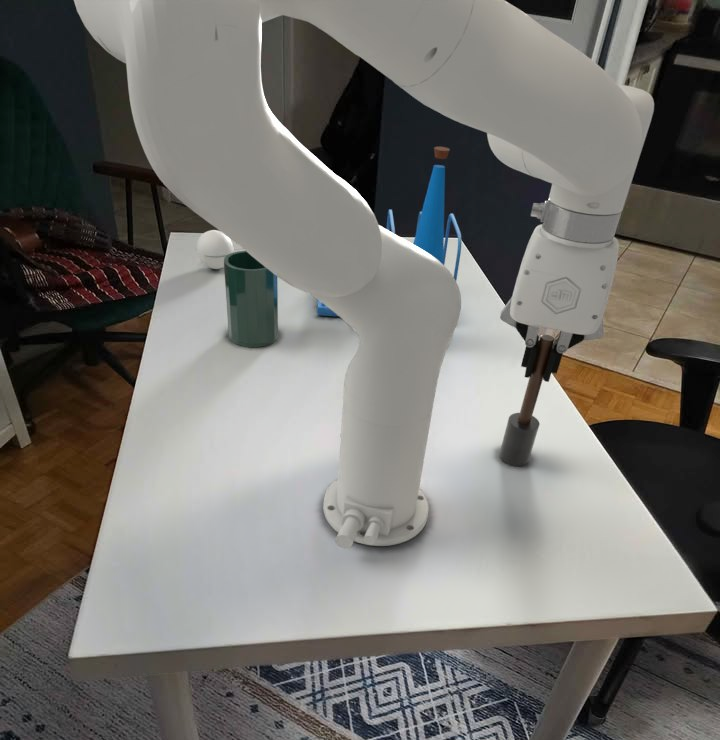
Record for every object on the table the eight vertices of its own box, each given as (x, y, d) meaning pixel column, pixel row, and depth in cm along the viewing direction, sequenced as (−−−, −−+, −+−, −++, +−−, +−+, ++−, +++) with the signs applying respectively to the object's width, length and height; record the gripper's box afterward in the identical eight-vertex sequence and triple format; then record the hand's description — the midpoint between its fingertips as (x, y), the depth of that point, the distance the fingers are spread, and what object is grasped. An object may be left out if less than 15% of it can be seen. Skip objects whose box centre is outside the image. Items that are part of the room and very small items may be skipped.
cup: (266, 351, 106) (264, 274, 97) (220, 341, 107) (214, 264, 99) (285, 330, 112) (284, 255, 104) (241, 321, 113) (237, 247, 105)
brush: (527, 469, 86) (563, 348, 75) (497, 462, 87) (529, 341, 75) (529, 452, 89) (565, 333, 78) (500, 446, 90) (531, 327, 78)
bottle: (429, 353, 109) (461, 157, 90) (388, 343, 111) (411, 149, 91) (440, 336, 114) (472, 147, 95) (401, 326, 116) (425, 139, 97)
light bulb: (195, 274, 127) (191, 236, 123) (201, 260, 133) (197, 223, 128) (246, 277, 128) (244, 239, 123) (250, 262, 134) (248, 226, 129)
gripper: (501, 220, 67) (469, 376, 78) (659, 246, 64) (602, 403, 76) (509, 200, 72) (478, 348, 84) (655, 223, 69) (602, 372, 81)
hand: (537, 373), depth 80 cm, fingers closed on brush
